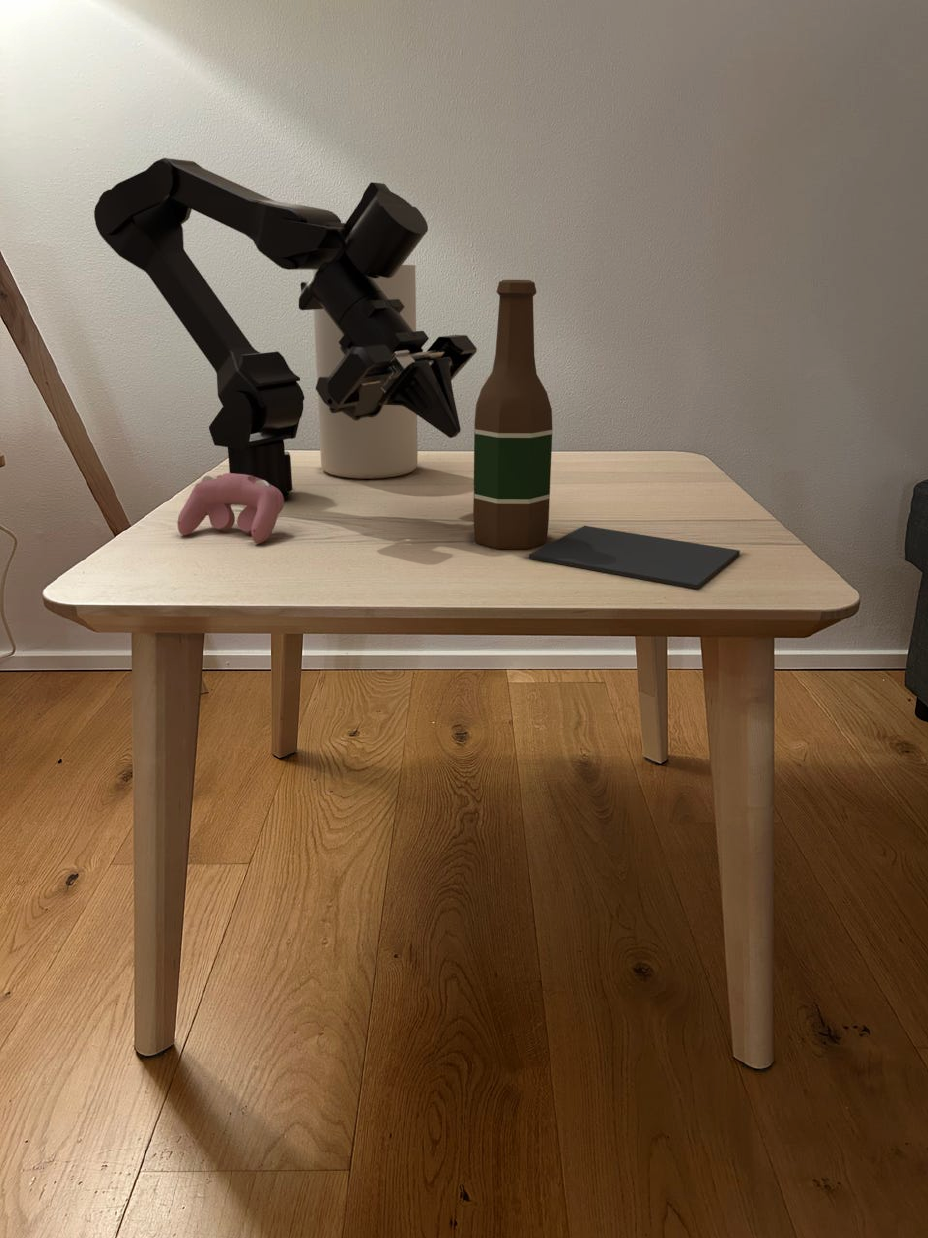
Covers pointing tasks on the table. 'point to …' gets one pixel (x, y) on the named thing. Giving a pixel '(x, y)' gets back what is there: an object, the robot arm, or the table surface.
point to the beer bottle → (513, 433)
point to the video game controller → (233, 489)
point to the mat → (637, 556)
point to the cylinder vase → (370, 440)
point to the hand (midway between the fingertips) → (456, 434)
